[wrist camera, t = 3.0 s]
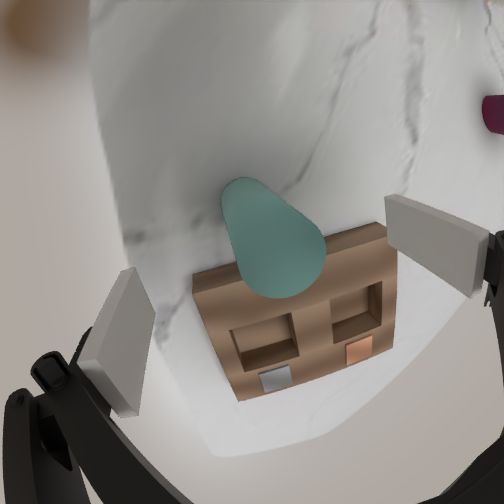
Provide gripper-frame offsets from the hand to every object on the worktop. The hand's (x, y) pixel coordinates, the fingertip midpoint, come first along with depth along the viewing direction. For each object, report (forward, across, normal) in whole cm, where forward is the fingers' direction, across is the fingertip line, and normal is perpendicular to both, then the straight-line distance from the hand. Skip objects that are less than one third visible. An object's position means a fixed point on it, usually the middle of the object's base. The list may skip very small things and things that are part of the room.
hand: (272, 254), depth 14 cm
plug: (+11, 0, 0) cm, 11 cm away
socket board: (+11, +3, -12) cm, 16 cm away
